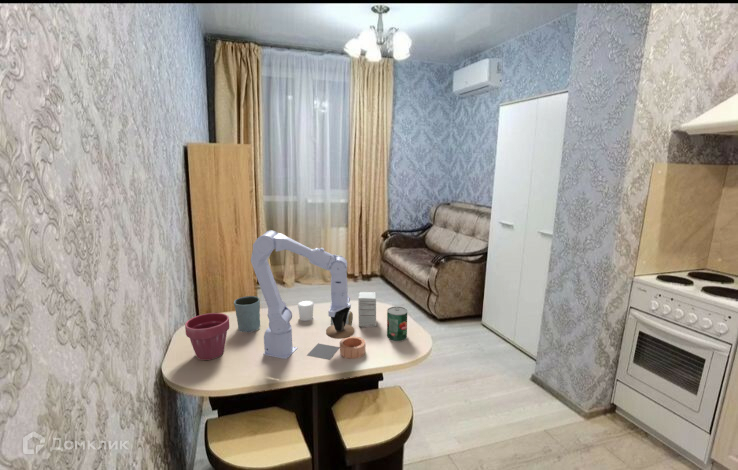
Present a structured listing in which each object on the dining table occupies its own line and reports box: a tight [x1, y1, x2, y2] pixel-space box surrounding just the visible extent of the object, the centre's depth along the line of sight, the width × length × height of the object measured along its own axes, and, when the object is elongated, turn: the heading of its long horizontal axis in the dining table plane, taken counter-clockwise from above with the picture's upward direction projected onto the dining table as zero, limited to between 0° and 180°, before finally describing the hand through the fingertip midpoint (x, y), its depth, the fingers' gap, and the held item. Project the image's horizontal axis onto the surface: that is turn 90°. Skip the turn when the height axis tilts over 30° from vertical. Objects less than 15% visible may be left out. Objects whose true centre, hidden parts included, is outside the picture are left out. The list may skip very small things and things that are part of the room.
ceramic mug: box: [330, 310, 354, 327], centre depth 154 cm, size 11×8×8 cm
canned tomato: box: [386, 306, 409, 342], centre depth 144 cm, size 8×8×11 cm
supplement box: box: [357, 291, 377, 328], centre depth 156 cm, size 7×7×13 cm
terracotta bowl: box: [339, 335, 366, 359], centre depth 132 cm, size 9×9×4 cm
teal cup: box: [233, 295, 261, 333], centre depth 151 cm, size 10×10×12 cm
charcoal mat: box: [306, 342, 340, 361], centre depth 133 cm, size 9×9×1 cm
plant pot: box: [184, 312, 230, 361], centre depth 131 cm, size 14×14×13 cm
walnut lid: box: [325, 321, 355, 340], centre depth 131 cm, size 10×10×4 cm
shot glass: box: [297, 299, 314, 322], centre depth 161 cm, size 7×7×7 cm
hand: (340, 327), depth 131 cm, fingers closed on walnut lid, 3 cm apart
